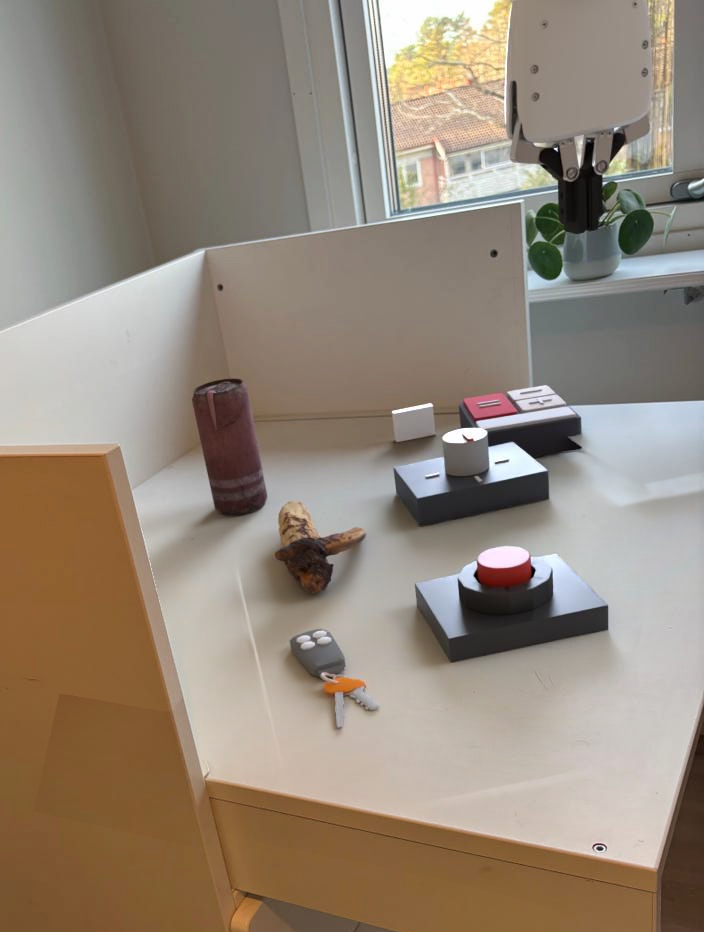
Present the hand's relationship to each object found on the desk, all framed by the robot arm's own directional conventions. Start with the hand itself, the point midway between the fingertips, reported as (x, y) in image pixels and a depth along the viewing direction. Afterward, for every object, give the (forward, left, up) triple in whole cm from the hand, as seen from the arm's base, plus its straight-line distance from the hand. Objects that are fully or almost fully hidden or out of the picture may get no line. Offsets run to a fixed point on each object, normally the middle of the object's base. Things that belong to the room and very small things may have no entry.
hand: (580, 230), depth 78 cm
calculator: (-2, -24, -25) cm, 35 cm away
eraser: (+8, -32, -25) cm, 42 cm away
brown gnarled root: (+25, -3, -25) cm, 35 cm away
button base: (+13, +16, -25) cm, 32 cm away
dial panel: (+8, -10, -25) cm, 28 cm away
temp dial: (+8, -10, -22) cm, 25 cm away
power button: (+13, +16, -21) cm, 30 cm away
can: (+31, -21, -25) cm, 45 cm away
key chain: (+28, +20, -25) cm, 43 cm away
